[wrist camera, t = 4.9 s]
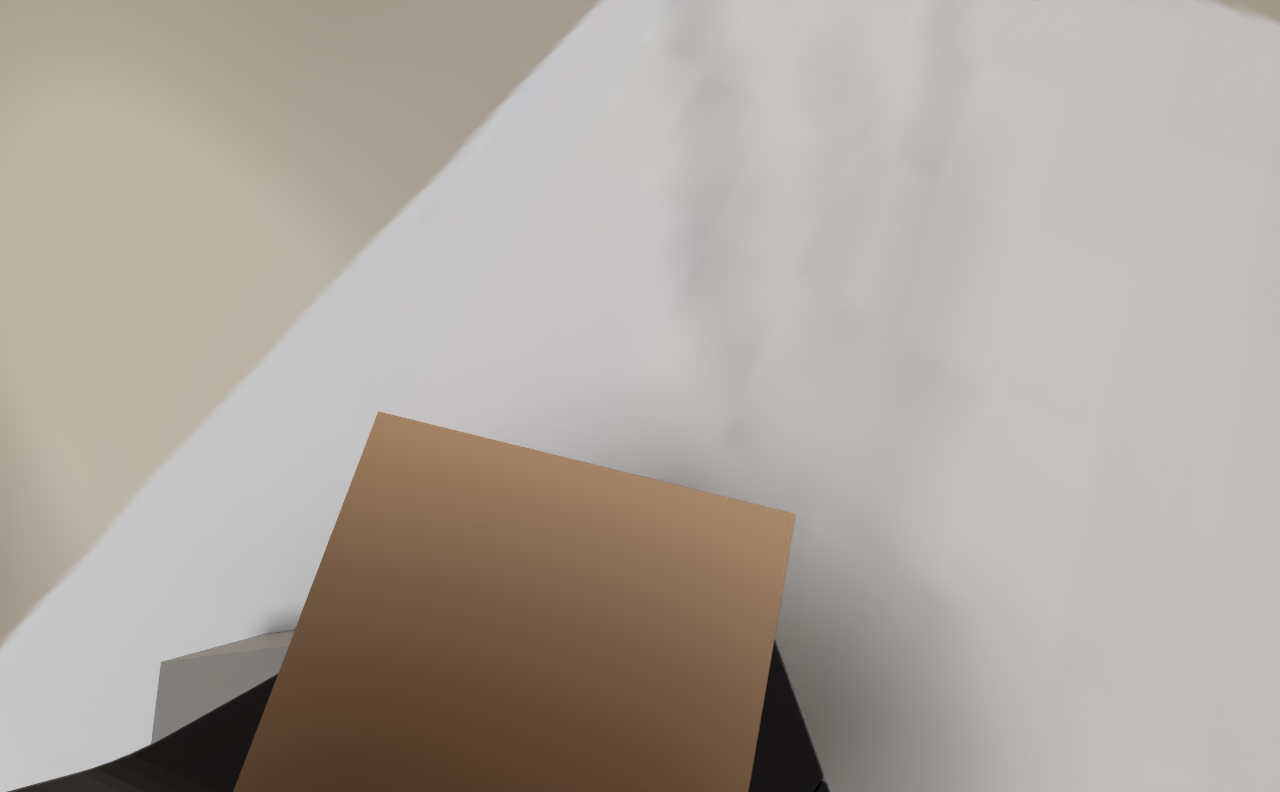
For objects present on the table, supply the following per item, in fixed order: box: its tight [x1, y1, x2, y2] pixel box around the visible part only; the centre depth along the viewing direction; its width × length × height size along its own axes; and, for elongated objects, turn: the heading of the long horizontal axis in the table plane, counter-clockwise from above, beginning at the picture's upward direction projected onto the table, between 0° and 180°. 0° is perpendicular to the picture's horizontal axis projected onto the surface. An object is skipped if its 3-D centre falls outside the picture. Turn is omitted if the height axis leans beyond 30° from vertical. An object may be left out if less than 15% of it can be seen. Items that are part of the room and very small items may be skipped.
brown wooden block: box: [233, 412, 796, 792], centre depth 9 cm, size 5×4×12 cm
